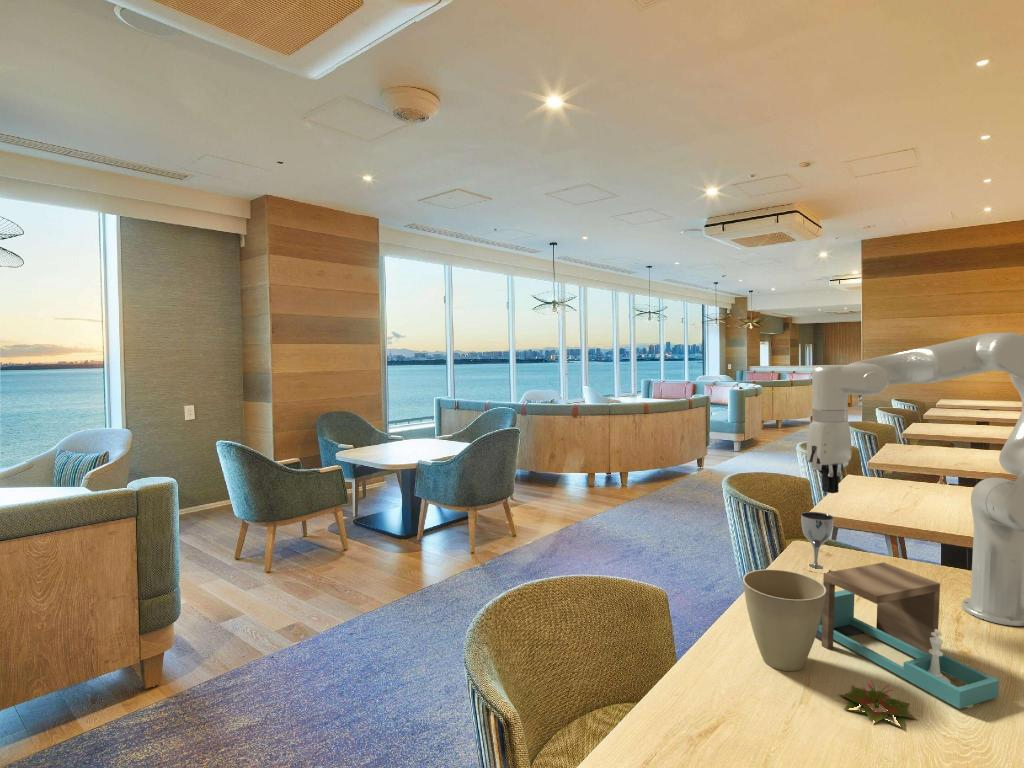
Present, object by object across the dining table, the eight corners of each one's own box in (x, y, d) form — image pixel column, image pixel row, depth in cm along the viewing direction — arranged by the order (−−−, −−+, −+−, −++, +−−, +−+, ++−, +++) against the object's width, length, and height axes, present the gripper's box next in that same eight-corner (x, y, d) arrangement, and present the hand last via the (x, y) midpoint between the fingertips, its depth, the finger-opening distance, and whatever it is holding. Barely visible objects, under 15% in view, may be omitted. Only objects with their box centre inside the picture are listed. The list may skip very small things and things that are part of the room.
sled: (845, 619, 133) (846, 589, 132) (998, 696, 104) (1000, 658, 103) (811, 627, 130) (812, 596, 129) (959, 708, 100) (960, 669, 100)
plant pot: (759, 635, 127) (761, 563, 126) (834, 661, 117) (837, 582, 116) (728, 661, 117) (729, 583, 116) (807, 692, 106) (809, 607, 105)
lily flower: (843, 682, 110) (844, 658, 110) (921, 706, 103) (922, 680, 103) (831, 714, 101) (832, 688, 101) (915, 742, 94) (916, 715, 93)
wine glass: (832, 566, 166) (834, 514, 165) (830, 575, 160) (832, 521, 159) (801, 561, 171) (803, 510, 170) (798, 570, 164) (799, 517, 163)
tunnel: (838, 610, 139) (840, 546, 138) (936, 659, 117) (940, 583, 116) (781, 622, 133) (782, 555, 132) (873, 675, 112) (876, 596, 111)
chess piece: (957, 689, 107) (960, 636, 106) (930, 689, 107) (932, 636, 106) (937, 674, 112) (940, 623, 111) (912, 674, 112) (914, 623, 111)
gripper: (839, 412, 148) (839, 485, 149) (793, 417, 142) (794, 492, 143) (866, 415, 141) (866, 491, 142) (819, 420, 135) (820, 499, 136)
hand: (830, 491), depth 143 cm, fingers closed
